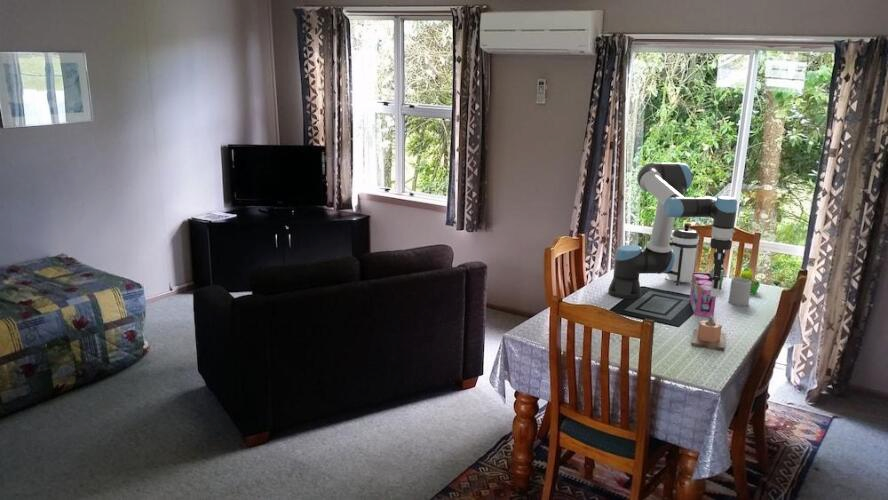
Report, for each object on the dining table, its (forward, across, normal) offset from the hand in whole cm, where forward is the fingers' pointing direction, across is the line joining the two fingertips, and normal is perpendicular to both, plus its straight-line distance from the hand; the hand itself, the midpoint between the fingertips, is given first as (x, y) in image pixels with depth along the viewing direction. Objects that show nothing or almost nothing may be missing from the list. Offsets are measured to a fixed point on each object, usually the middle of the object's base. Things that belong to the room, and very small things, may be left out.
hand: (714, 291), depth 261 cm
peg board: (+21, 0, 0) cm, 21 cm away
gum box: (+21, +39, +5) cm, 45 cm away
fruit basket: (+21, +76, -14) cm, 80 cm away
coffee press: (+21, +76, +17) cm, 81 cm away
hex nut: (+20, 0, 0) cm, 20 cm away
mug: (+21, +57, -11) cm, 62 cm away
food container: (+21, +74, -1) cm, 77 cm away
